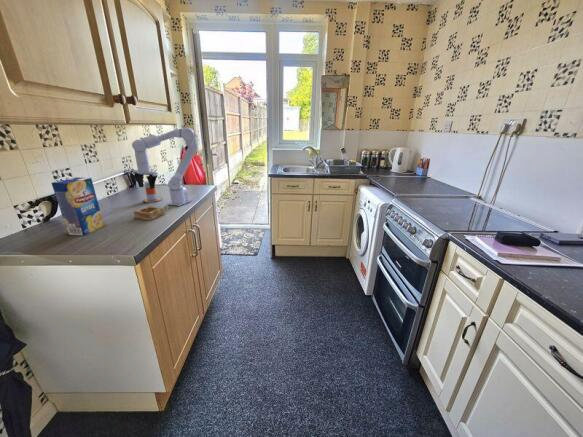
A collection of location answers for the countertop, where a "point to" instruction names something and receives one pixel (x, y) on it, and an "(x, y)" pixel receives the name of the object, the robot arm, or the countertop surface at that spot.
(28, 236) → the countertop surface
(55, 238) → the countertop surface
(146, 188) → the can
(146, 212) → the holder
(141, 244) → the countertop surface
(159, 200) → the coaster
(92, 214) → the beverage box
